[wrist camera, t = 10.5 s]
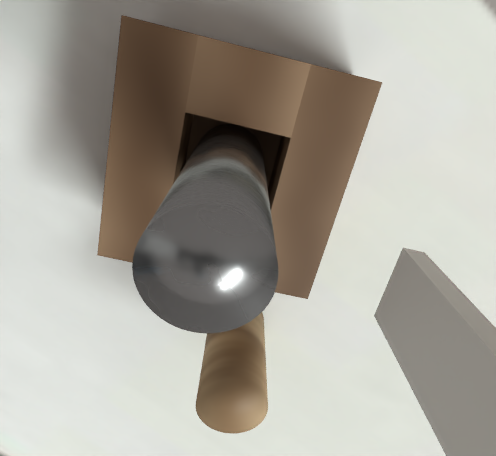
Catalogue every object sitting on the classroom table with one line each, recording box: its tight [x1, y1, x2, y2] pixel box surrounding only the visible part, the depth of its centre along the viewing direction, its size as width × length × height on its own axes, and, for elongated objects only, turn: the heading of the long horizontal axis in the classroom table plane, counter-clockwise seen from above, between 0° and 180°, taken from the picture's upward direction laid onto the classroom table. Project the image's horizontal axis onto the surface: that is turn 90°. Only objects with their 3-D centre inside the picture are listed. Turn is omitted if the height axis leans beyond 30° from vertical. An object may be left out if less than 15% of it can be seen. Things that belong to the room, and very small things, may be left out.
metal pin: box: [132, 124, 278, 333], centre depth 18 cm, size 4×4×14 cm
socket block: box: [97, 15, 382, 299], centre depth 23 cm, size 12×12×5 cm
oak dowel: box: [196, 312, 268, 433], centre depth 26 cm, size 4×4×8 cm
